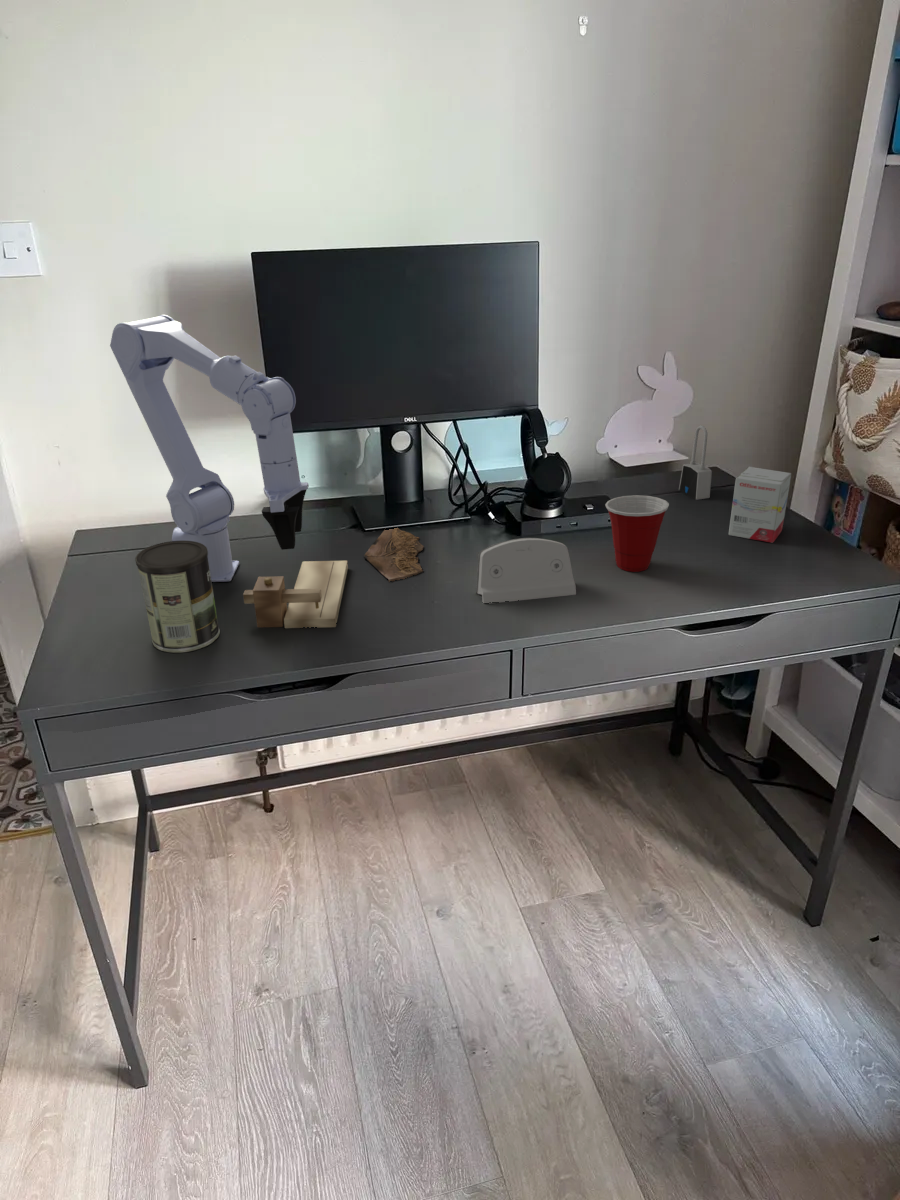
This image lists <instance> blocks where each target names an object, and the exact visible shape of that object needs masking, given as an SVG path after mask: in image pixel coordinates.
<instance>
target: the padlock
mask: <svg viewBox="0 0 900 1200" xmlns="http://www.w3.org/2000/svg"><path fill="white" fill-rule="evenodd" d="M700 430H702V432H703V442H702V444H703V445H702V452H701V461H700V462H701V463H699V462H696V455H697V446H698V445H697V444H698V438H699V437H698V436H699V432H700ZM707 445H708V429H706V427H705V426H704V425H698V426H697V427H696V429H695V432H694V439H693V446H692V455H691V460H690V463H685V464H683V465H682V469H681V474H680V480H679V486H678V491H680V492H681V493H683V495H686V496H687V497H690V498H692V499H694V500H696V501H697V500H702V499H703V500H704V499H705V500H706V499H709V498H710V496H711V487H712V486H711V485H712V484H711V483H712V474H713V473H712V472H713V471H712V470H711V468H709V467H708V466H706V465H705V461H706V454H707Z"/></svg>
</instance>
